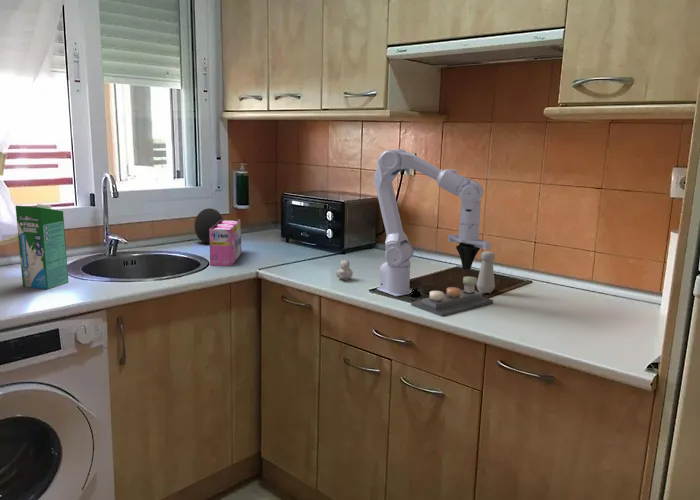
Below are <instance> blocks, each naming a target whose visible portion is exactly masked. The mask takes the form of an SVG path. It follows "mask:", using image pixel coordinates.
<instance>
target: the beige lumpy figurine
mask: <svg viewBox="0 0 700 500" xmlns="http://www.w3.org/2000/svg"><path fill="white" fill-rule="evenodd" d="M339 264H340V265H339V269H337V270H336V277H337V278H339V280H344V281H347V280H350V279H351V278H352V277H353V275H354V274H353V270H352V269H351V268H350V262H349V259H347V257H346V256H345V257H344V258H342V260H341V261H340V263H339Z"/></svg>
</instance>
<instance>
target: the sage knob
mask: <svg viewBox="0 0 700 500" xmlns="http://www.w3.org/2000/svg"><path fill="white" fill-rule="evenodd" d="M477 280H478V277H476V276H469V275H468V276H463V278H462V284H463V290H464V292H468V293H472V292H474V290H475V291H476V289H475V287H476V286H477V285H476V284H477Z"/></svg>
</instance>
